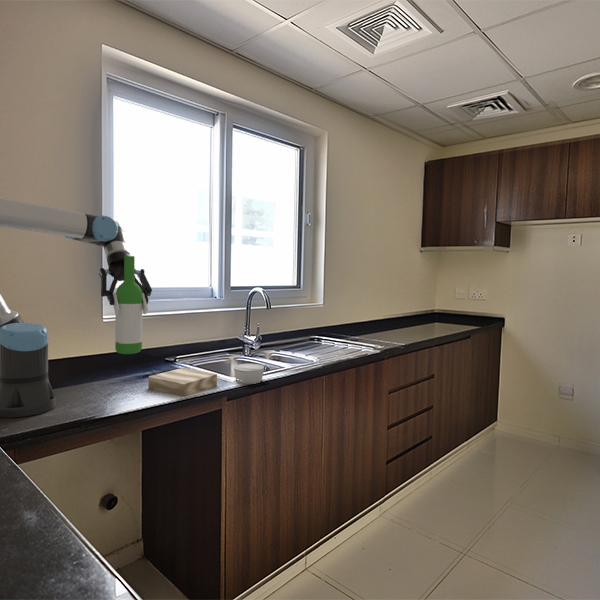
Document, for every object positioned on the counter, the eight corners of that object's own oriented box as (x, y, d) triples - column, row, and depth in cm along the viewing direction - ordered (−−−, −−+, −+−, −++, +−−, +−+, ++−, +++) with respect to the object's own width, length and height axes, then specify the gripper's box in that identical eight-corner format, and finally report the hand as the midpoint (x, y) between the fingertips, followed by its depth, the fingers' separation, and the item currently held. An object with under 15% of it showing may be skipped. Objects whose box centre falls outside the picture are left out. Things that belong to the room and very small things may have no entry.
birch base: (183, 396, 138) (184, 384, 137) (148, 388, 145) (148, 376, 145) (216, 385, 152) (217, 374, 151) (182, 378, 159) (183, 367, 159)
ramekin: (237, 385, 152) (237, 371, 152) (230, 378, 163) (230, 364, 162) (267, 383, 157) (268, 369, 156) (259, 376, 167) (259, 362, 167)
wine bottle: (133, 348, 141) (134, 256, 139) (146, 352, 137) (147, 256, 134) (110, 351, 135) (110, 255, 133) (123, 355, 130) (124, 255, 128)
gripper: (147, 267, 152) (162, 318, 140) (83, 265, 140) (93, 320, 128) (152, 251, 148) (168, 303, 136) (86, 248, 136) (97, 304, 124)
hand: (131, 311), depth 132 cm, fingers closed on wine bottle, 8 cm apart
